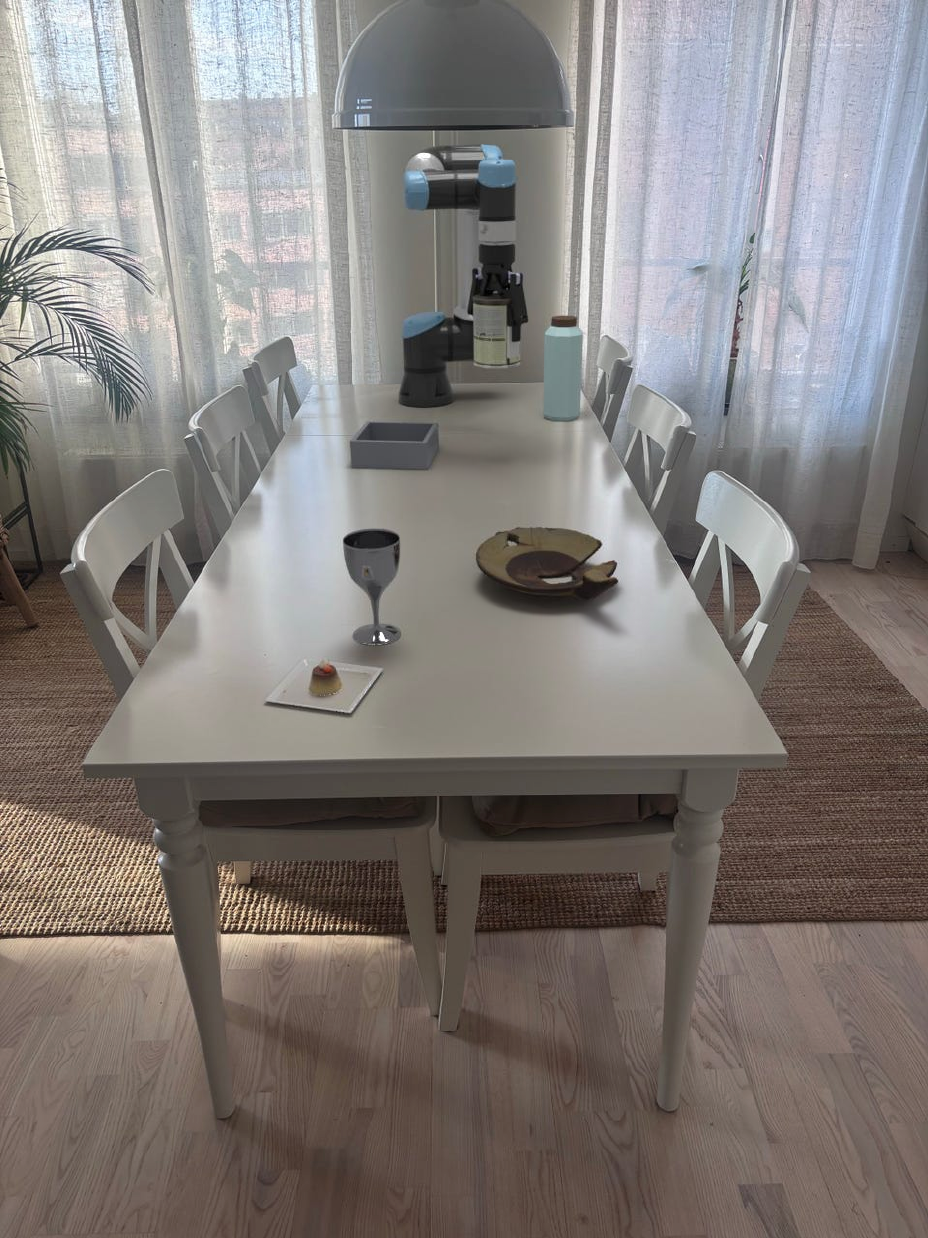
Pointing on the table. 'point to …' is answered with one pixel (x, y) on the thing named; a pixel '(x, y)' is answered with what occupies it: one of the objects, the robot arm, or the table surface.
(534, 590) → the brown shallow dish
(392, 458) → the bin
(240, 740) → the table surface
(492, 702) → the table surface
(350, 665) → the dessert
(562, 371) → the water bottle
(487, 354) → the coffee can
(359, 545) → the wine glass
